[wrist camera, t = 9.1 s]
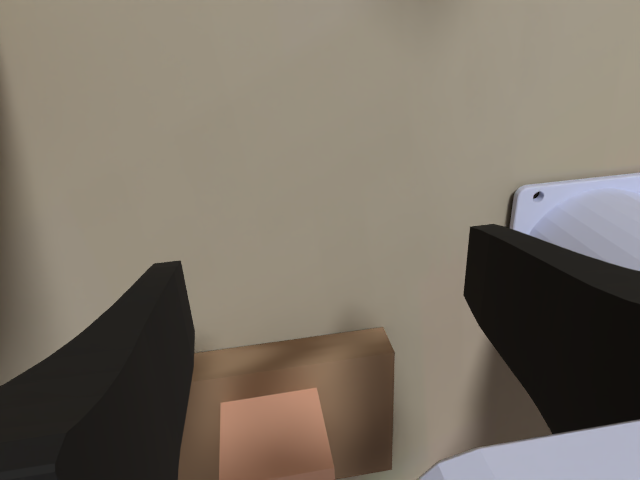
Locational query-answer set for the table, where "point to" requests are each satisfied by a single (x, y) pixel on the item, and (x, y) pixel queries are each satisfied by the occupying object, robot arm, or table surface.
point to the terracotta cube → (275, 438)
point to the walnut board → (293, 375)
